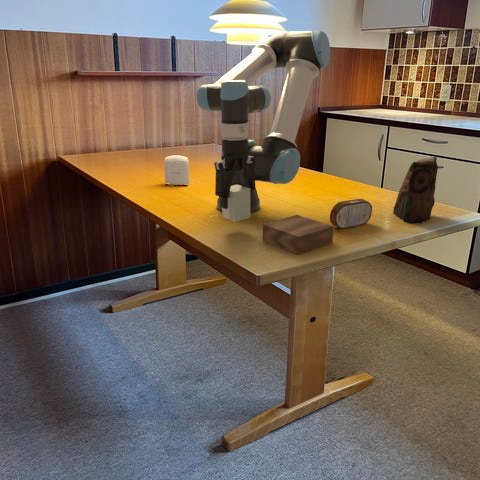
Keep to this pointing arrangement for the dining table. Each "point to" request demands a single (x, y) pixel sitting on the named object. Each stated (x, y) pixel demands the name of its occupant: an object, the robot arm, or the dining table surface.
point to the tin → (350, 213)
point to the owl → (417, 192)
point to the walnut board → (298, 234)
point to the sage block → (239, 203)
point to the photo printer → (176, 170)
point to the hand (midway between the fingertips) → (236, 215)
